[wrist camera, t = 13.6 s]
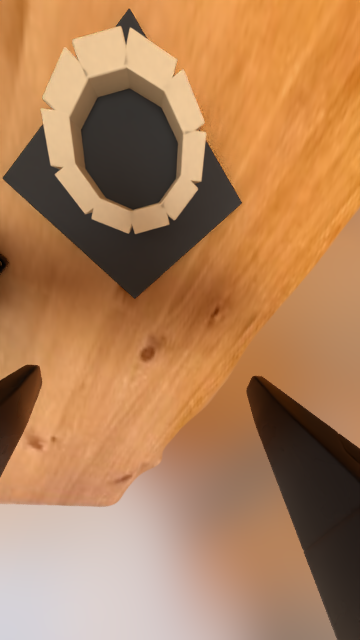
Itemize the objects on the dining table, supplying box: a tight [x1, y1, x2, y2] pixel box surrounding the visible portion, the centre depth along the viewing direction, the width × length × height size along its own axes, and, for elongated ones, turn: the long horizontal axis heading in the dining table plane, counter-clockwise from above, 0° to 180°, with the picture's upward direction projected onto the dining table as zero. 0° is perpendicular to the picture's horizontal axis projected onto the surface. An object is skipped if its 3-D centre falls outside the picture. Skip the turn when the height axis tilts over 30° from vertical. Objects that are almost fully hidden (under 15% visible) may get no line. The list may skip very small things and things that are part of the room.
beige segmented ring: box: [41, 26, 206, 234], centre depth 13 cm, size 9×9×2 cm
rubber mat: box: [3, 9, 242, 298], centre depth 16 cm, size 12×12×1 cm
